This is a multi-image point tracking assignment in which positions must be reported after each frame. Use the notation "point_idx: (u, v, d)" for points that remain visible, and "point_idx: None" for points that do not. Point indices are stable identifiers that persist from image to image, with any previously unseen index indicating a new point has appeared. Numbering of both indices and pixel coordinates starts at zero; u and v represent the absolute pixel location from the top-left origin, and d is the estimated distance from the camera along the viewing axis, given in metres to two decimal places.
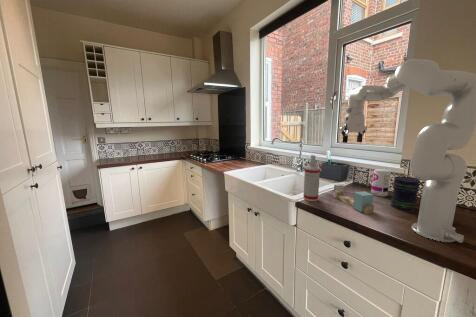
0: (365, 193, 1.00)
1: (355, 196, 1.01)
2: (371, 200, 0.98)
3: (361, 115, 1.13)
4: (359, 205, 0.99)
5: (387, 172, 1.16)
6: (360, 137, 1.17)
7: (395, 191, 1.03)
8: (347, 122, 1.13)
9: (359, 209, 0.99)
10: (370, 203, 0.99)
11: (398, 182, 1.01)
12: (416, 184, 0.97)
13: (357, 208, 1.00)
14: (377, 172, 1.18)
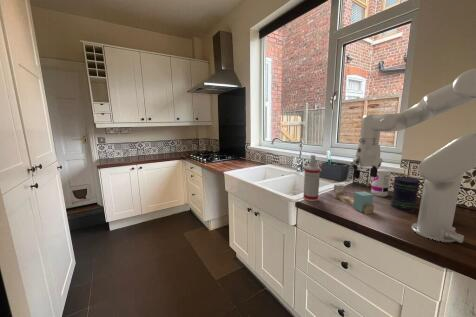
0: (365, 193, 1.00)
1: (355, 196, 1.01)
2: (371, 200, 0.98)
3: (377, 146, 0.94)
4: (359, 205, 0.99)
5: (387, 172, 1.16)
6: (374, 171, 0.98)
7: (395, 191, 1.03)
8: (360, 154, 0.95)
9: (359, 209, 0.99)
10: (370, 203, 0.99)
11: (398, 182, 1.01)
12: (416, 184, 0.97)
13: (357, 208, 1.00)
14: (377, 172, 1.18)
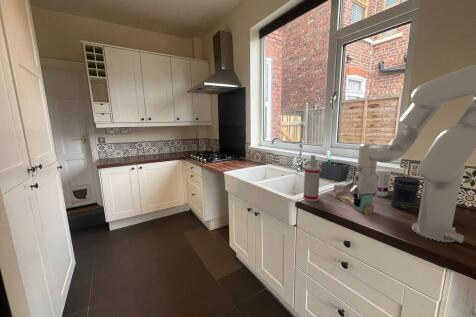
0: None
1: None
2: (371, 200, 0.98)
3: (374, 175, 0.96)
4: None
5: (387, 172, 1.16)
6: None
7: (395, 191, 1.03)
8: (357, 182, 0.97)
9: (359, 209, 0.99)
10: (370, 203, 0.99)
11: (398, 182, 1.01)
12: (416, 184, 0.97)
13: (357, 208, 1.00)
14: (377, 172, 1.18)
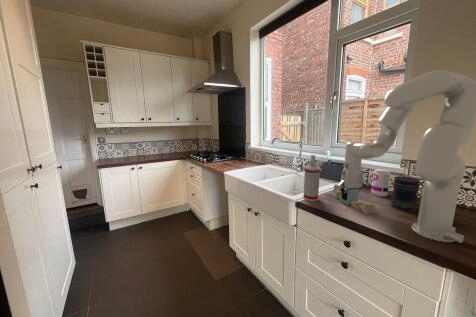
0: (352, 188, 1.08)
1: None
2: (357, 194, 1.07)
3: (359, 170, 1.04)
4: None
5: (387, 172, 1.16)
6: None
7: (395, 191, 1.03)
8: (344, 177, 1.05)
9: (346, 202, 1.07)
10: (356, 197, 1.07)
11: (398, 182, 1.01)
12: (416, 184, 0.97)
13: (344, 201, 1.08)
14: (377, 172, 1.18)
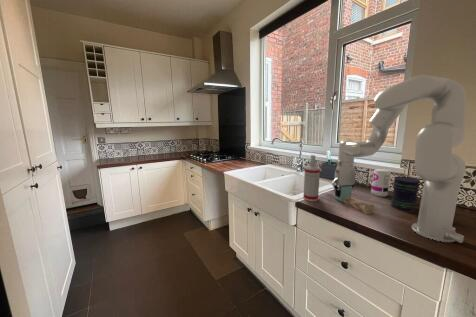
0: (345, 185, 1.13)
1: None
2: (350, 191, 1.11)
3: (352, 168, 1.09)
4: None
5: (387, 172, 1.16)
6: None
7: (395, 191, 1.03)
8: (337, 175, 1.10)
9: (339, 199, 1.12)
10: (349, 193, 1.12)
11: (398, 182, 1.01)
12: (416, 184, 0.97)
13: (338, 198, 1.13)
14: (377, 172, 1.18)
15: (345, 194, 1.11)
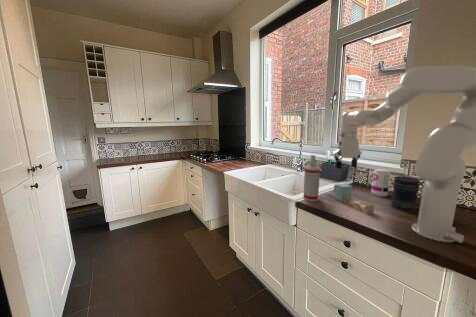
0: (345, 185, 1.13)
1: (336, 187, 1.14)
2: (350, 191, 1.11)
3: (355, 140, 1.06)
4: (339, 195, 1.12)
5: (387, 172, 1.16)
6: (354, 162, 1.11)
7: (395, 191, 1.03)
8: (340, 147, 1.07)
9: (339, 199, 1.12)
10: (349, 193, 1.12)
11: (398, 182, 1.01)
12: (416, 184, 0.97)
13: (338, 198, 1.13)
14: (377, 172, 1.18)
15: (345, 194, 1.11)
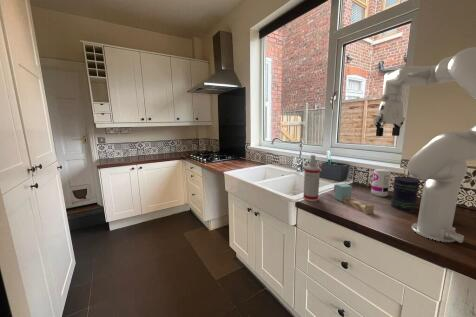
0: (345, 185, 1.13)
1: (336, 187, 1.14)
2: (350, 191, 1.11)
3: (400, 103, 0.94)
4: (339, 195, 1.12)
5: (387, 172, 1.16)
6: (397, 130, 0.99)
7: (395, 191, 1.03)
8: (383, 112, 0.95)
9: (339, 199, 1.12)
10: (349, 193, 1.12)
11: (398, 182, 1.01)
12: (416, 184, 0.97)
13: (338, 198, 1.13)
14: (377, 172, 1.18)
15: (345, 194, 1.11)
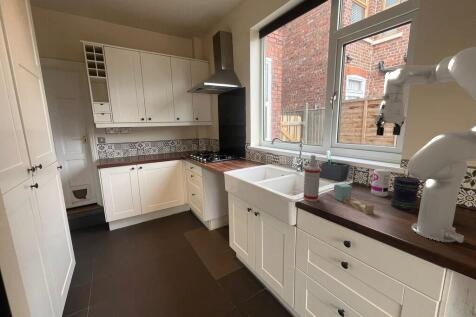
0: (345, 185, 1.13)
1: (336, 187, 1.14)
2: (350, 191, 1.11)
3: (401, 102, 0.94)
4: (339, 195, 1.12)
5: (387, 172, 1.16)
6: (398, 129, 0.99)
7: (395, 191, 1.03)
8: (383, 111, 0.95)
9: (339, 199, 1.12)
10: (349, 193, 1.12)
11: (398, 182, 1.01)
12: (416, 184, 0.97)
13: (338, 198, 1.13)
14: (377, 172, 1.18)
15: (345, 194, 1.11)
